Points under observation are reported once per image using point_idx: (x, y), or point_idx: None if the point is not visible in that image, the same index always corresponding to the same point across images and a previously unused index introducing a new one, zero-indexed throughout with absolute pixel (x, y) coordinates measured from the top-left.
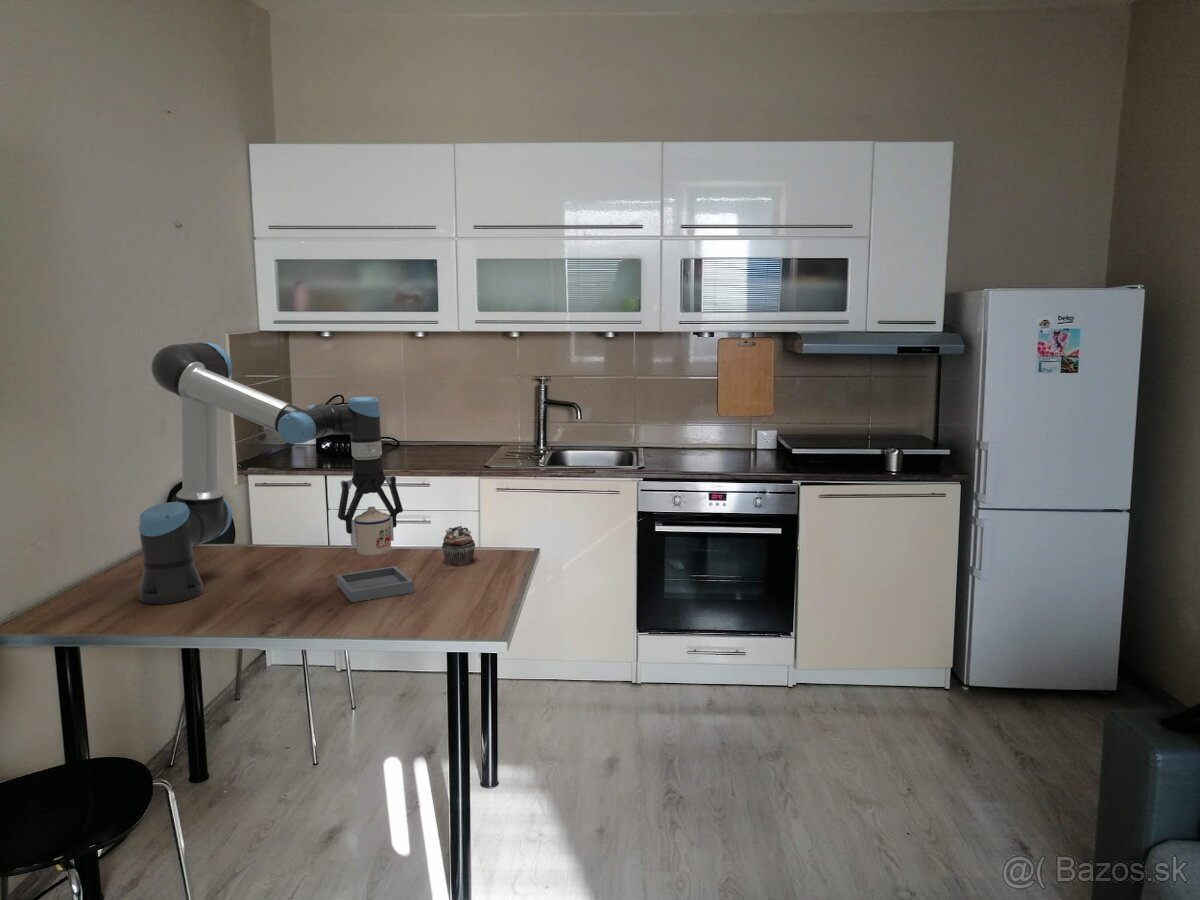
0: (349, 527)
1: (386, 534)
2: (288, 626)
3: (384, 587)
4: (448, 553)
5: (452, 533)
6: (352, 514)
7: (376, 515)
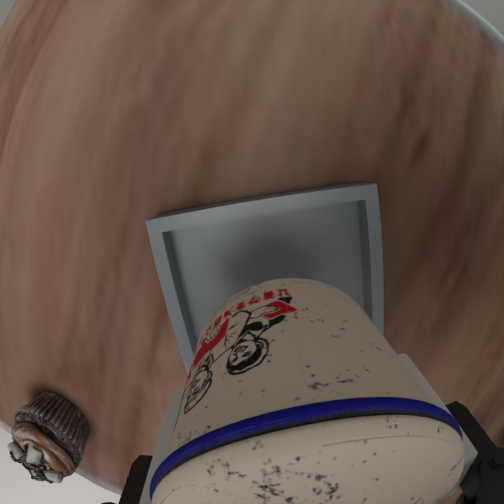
0: (467, 428)
1: (206, 365)
2: (491, 83)
3: (254, 200)
4: (66, 425)
5: (46, 467)
6: (493, 498)
7: None
